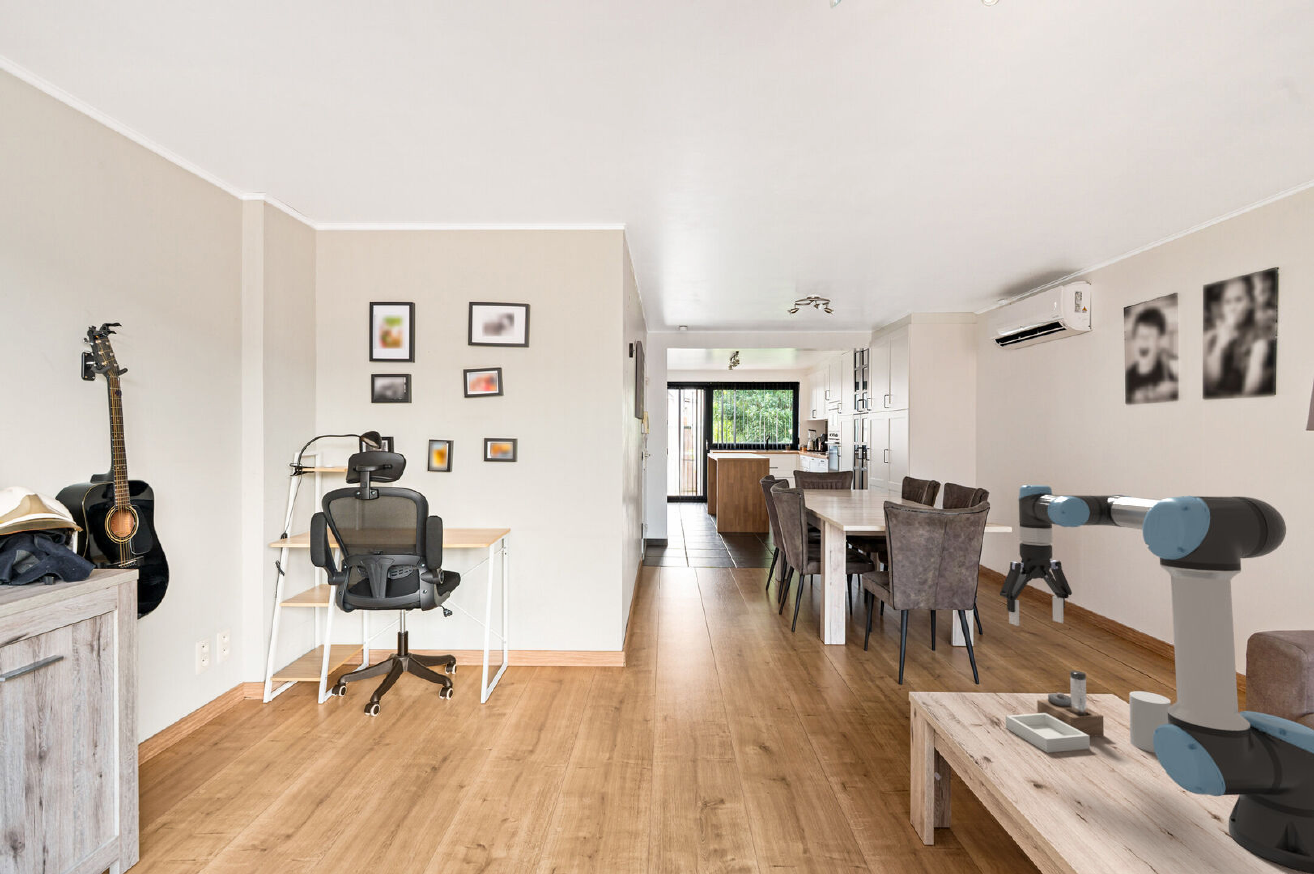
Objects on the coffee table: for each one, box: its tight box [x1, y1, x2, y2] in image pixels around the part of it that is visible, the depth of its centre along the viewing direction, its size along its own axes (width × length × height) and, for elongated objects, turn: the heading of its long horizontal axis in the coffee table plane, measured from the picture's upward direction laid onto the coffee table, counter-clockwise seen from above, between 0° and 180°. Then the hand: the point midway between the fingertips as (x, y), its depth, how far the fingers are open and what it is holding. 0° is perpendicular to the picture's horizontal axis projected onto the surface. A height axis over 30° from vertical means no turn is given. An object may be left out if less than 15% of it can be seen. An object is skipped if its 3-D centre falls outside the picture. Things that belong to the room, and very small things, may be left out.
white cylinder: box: [1128, 690, 1172, 754], centre depth 157 cm, size 8×8×12 cm
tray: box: [1005, 713, 1091, 753], centre depth 161 cm, size 14×12×3 cm
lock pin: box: [1069, 670, 1087, 716], centre depth 166 cm, size 3×3×15 cm
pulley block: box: [1036, 691, 1105, 737], centre depth 168 cm, size 12×9×8 cm
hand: (1036, 623), depth 168 cm, fingers open, 13 cm apart
